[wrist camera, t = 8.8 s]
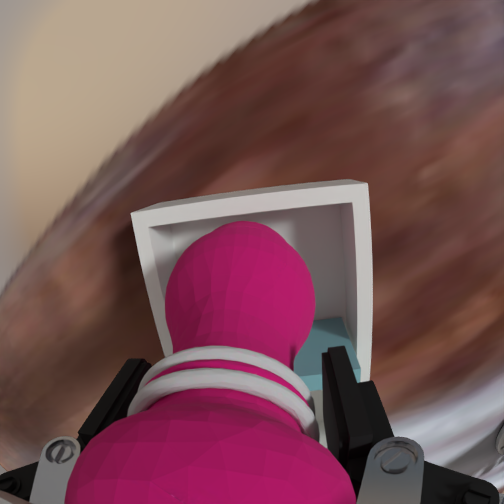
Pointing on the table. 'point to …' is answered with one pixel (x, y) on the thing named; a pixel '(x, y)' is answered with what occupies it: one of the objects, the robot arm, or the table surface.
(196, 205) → the white tray
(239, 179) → the table surface
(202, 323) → the pepper mill
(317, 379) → the pusher
